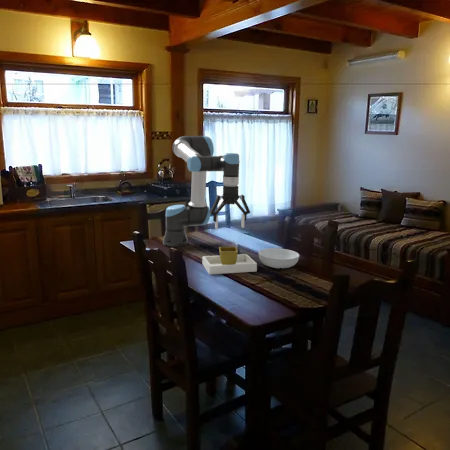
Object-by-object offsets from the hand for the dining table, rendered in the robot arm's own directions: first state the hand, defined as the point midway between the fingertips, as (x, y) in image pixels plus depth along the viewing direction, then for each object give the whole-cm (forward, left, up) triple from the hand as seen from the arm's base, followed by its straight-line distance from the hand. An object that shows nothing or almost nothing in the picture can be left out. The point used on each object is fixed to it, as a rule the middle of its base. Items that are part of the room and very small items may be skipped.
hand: (229, 227), depth 213 cm
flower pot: (0, 0, -20) cm, 20 cm away
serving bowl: (+2, +26, -21) cm, 34 cm away
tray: (0, 0, -21) cm, 21 cm away
